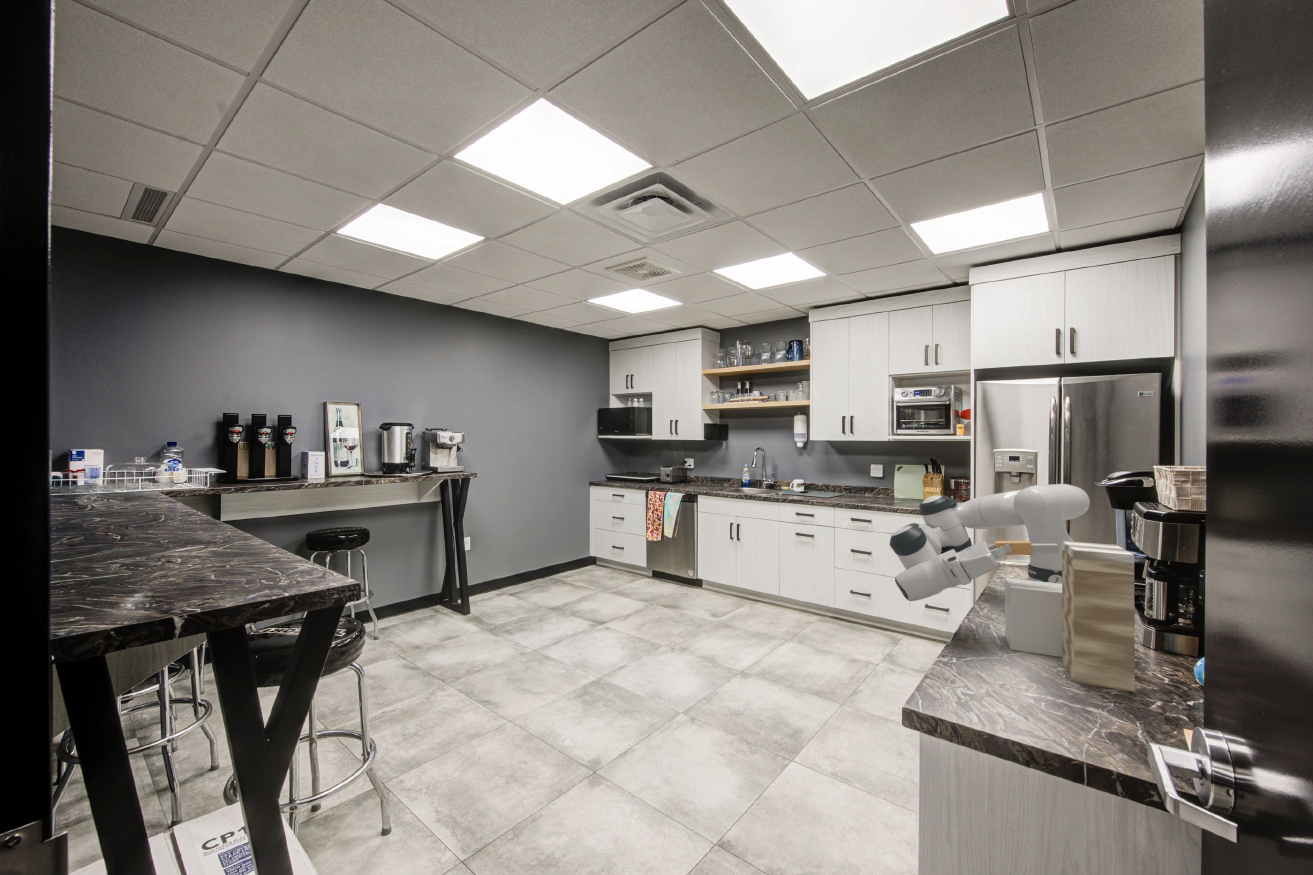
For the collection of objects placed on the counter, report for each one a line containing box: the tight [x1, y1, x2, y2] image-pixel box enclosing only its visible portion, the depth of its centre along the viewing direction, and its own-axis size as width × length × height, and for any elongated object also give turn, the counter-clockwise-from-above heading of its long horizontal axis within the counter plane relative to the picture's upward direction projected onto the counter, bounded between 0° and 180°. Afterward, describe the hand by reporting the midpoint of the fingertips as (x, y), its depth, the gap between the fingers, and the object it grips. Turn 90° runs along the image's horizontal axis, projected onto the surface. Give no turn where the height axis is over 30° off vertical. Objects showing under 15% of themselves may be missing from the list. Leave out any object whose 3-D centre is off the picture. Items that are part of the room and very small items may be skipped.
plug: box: [994, 540, 1059, 556], centre depth 136 cm, size 3×13×3 cm, turn 63°
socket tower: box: [1061, 541, 1136, 693], centre depth 119 cm, size 12×10×28 cm
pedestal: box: [1004, 577, 1062, 658], centre depth 135 cm, size 10×14×16 cm
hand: (1009, 545), depth 138 cm, fingers closed on plug, 3 cm apart
